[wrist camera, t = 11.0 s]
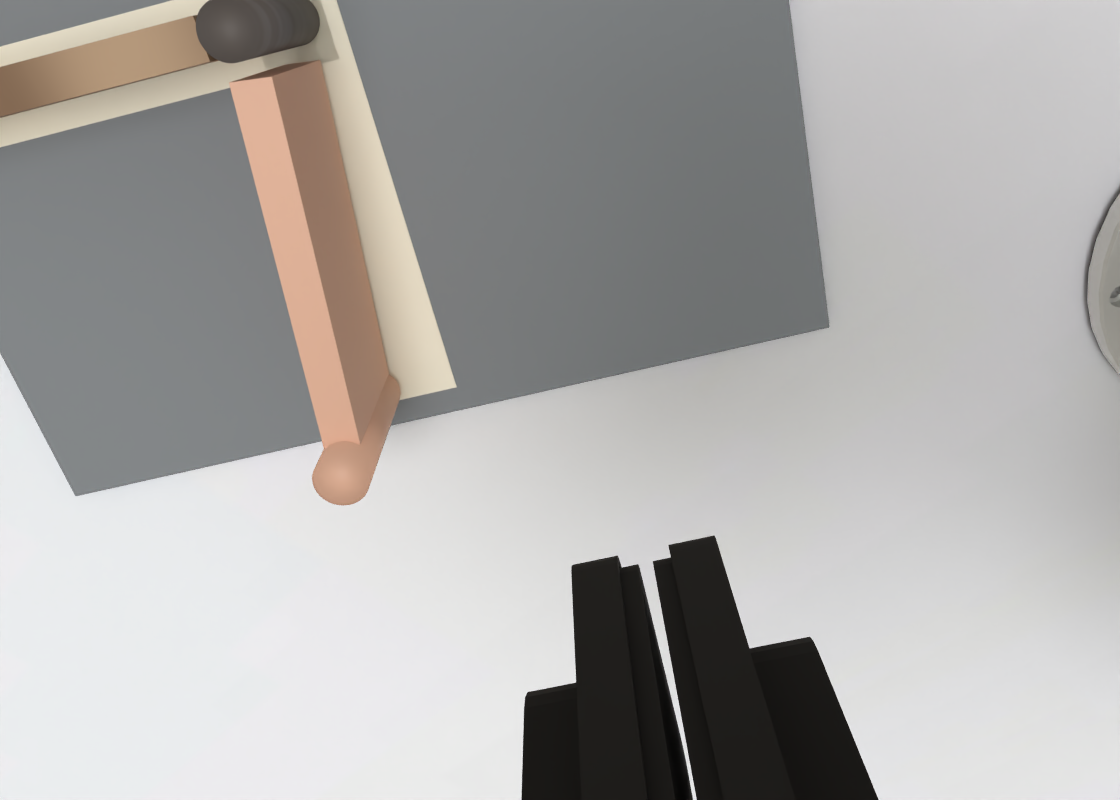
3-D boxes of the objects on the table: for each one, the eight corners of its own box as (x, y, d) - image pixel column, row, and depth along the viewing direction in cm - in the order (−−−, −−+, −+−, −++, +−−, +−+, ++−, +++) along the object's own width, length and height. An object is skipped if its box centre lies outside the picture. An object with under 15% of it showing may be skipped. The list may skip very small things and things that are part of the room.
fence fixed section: (309, -15, 30) (243, -15, 24) (327, 42, 31) (268, 58, 24) (-112, 97, 31) (-286, 128, 25) (-85, 149, 32) (-246, 193, 26)
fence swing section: (275, 65, 31) (206, 87, 25) (329, 58, 31) (272, 78, 24) (359, 415, 36) (319, 508, 30) (404, 409, 36) (374, 501, 30)
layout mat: (739, -373, 27) (741, -378, 26) (826, 323, 36) (829, 327, 35) (-225, -94, 29) (-236, -95, 29) (79, 491, 38) (75, 496, 38)
